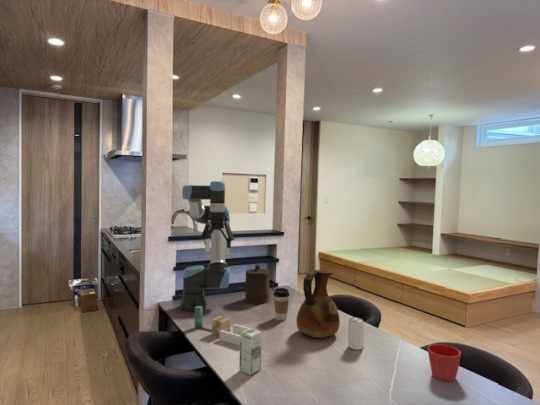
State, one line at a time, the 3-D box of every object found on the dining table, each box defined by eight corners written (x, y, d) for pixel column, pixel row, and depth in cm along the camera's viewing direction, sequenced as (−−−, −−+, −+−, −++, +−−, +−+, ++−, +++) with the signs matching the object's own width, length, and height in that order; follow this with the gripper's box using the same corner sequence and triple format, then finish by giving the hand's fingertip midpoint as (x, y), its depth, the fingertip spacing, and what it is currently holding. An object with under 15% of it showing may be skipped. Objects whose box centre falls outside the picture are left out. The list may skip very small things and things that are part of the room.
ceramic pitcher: (347, 333, 170) (348, 270, 169) (322, 346, 155) (323, 277, 155) (313, 323, 184) (314, 264, 183) (287, 334, 169) (288, 270, 168)
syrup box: (249, 365, 138) (249, 327, 138) (261, 370, 134) (261, 331, 134) (239, 370, 134) (239, 331, 133) (251, 376, 130) (251, 336, 129)
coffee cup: (289, 316, 194) (289, 288, 193) (288, 321, 185) (289, 292, 185) (274, 315, 195) (274, 287, 194) (272, 320, 186) (272, 291, 186)
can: (364, 345, 157) (364, 317, 157) (363, 351, 151) (363, 322, 151) (349, 343, 159) (349, 316, 159) (347, 349, 153) (347, 320, 153)
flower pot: (421, 369, 136) (422, 344, 135) (449, 368, 137) (450, 343, 136) (436, 384, 125) (437, 356, 125) (467, 383, 126) (467, 355, 126)
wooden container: (265, 296, 231) (265, 261, 231) (272, 302, 217) (272, 266, 216) (242, 297, 227) (242, 262, 226) (248, 305, 212) (248, 267, 212)
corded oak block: (191, 328, 174) (191, 308, 174) (200, 325, 180) (200, 305, 179) (221, 337, 164) (221, 315, 164) (230, 333, 169) (230, 311, 169)
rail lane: (219, 339, 162) (219, 330, 162) (234, 332, 170) (234, 323, 170) (244, 347, 154) (244, 337, 154) (258, 339, 163) (258, 330, 163)
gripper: (194, 211, 189) (194, 251, 190) (231, 212, 175) (231, 256, 176) (204, 210, 195) (204, 249, 196) (241, 212, 182) (240, 254, 182)
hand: (217, 252), depth 186 cm, fingers open, 13 cm apart
